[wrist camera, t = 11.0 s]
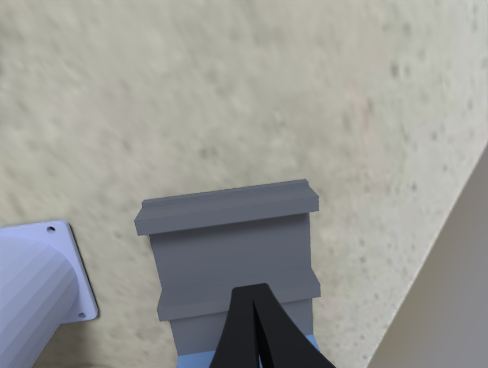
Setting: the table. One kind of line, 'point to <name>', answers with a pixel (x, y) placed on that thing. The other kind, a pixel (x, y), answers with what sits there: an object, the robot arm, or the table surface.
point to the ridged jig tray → (230, 258)
